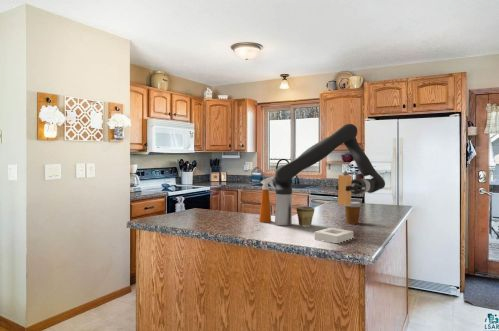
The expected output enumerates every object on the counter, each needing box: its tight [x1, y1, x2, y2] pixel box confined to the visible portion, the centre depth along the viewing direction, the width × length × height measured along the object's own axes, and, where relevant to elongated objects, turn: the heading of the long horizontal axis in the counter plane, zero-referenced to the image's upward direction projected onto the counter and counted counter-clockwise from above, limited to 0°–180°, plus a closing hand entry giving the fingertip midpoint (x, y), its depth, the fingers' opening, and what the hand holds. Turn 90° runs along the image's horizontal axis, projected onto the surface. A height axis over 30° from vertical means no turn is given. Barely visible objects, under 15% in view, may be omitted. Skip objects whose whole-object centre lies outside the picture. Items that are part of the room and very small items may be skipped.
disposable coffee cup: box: [343, 200, 362, 225], centre depth 200 cm, size 10×10×12 cm
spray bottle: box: [258, 176, 276, 223], centre depth 202 cm, size 7×11×26 cm, turn 57°
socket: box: [314, 226, 354, 244], centre depth 163 cm, size 14×12×4 cm
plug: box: [337, 170, 353, 207], centre depth 165 cm, size 4×4×16 cm
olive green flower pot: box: [295, 205, 316, 228], centre depth 194 cm, size 13×10×10 cm
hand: (341, 188), depth 164 cm, fingers closed on plug, 4 cm apart
